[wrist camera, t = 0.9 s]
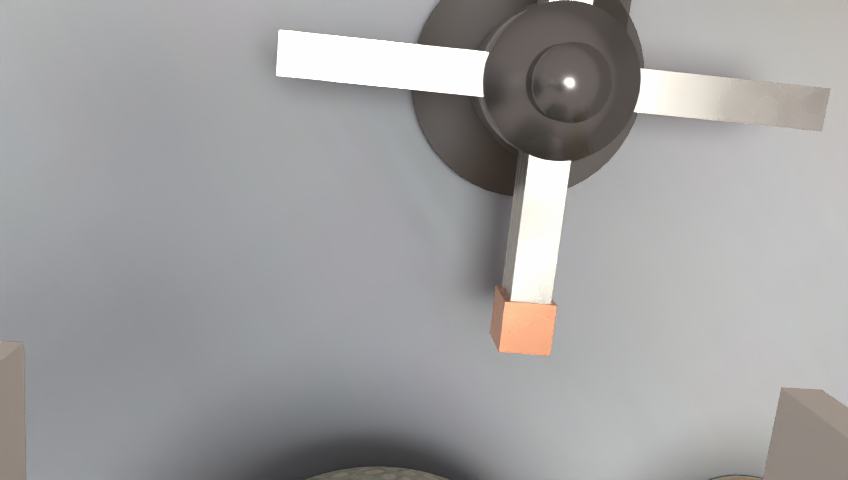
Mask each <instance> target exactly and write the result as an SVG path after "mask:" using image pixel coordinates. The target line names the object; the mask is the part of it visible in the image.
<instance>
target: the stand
mask: <svg viewBox="0 0 848 480" xmlns="http://www.w3.org/2000/svg"><path fill="white" fill-rule="evenodd" d="M536 2H538V0H441V2H440V3H439V4H438V5H437V7H436V8H435V9H434V11H433V12H432V14H431V15H430V17H429V19H428V20H427V22H426V24H425V26H424V28H423V31H422V33H421V35H420V37H419V40H418V45H427V46H437V47H446V48H455V49H465V50H474V51H476V49H477V47H478V46H479V44H480V42H481V41H482V39H483V38H484V37H485V36H486V34H487V33H488V32H489V31H490V30H491V29H492V28H493V27H495V26H496V25H497V24H499V23H500V22H501V21H503V20H504V19H505V18H507V17H508V16H509V15H511V14H512V13H514V12H516V11H517V10H519V9H521V8H523V7H525V6H528V5H531V4H533V3H536ZM593 5H594V6H596V7H598V8H600V9H602V10H604V11H606V12H607V13H608V14H610V15H611V16H613V17H614V18H615V19H616V20H617V21H618V22H619V23H620V24H621V25H622V26H623V28H624V29H625V30H626V31H627V33H628V35H629V36H630V38H631V39H632V42H633V44H634V46H635V48H636V51H637V54H638V58H639V63H640V68H642V69H644V61H643V55H642V49H641V44H640V41H639V37H638V34H637V31H636V29H635V27H634V24H633V22H632V20H631V18H630V16H629V12H630V5H631V0H593ZM412 93H413V101H414V106H415V110H416V114H417V117H418V120H419V122H420V125H421V128H422V130H423V132H424V134H425V136H426V138H427V139H428V141H429V143H430V144H431V146H432V147H433V149H434V150H435V151H436V153H437V154H438V155H439V156H440V158H441V159H442V160H443V161H444V162H445V163H446V164H447V165H448V166H449V167H450V168H451V169H452V170H454V171H455V172H456V173H457V174H459V175H460V176H461V177H463V178H464V179H466V180H468V181H469V182H471V183H472V184H475V185H477V186H479V187H481V188H483V189H486V190H489V191H492V192H496V193H499V194H504V195H510V196H513V194H514V186H515V178H516V170H517V162H518V155H516V154H514V153H513V152H511V151H510V150H508V149H506V148H505V147H504V146H502V145H501V144H500V143H499V142H498V141H497V140H496V139H495V138H494V137H493V136H492V135H491V134H490V132H489V131H488V130H487V128H486V127H485V126H484V125H483V124H482V122H481V121H480V119H479V118H478V116H477V114H476V112H475V110H474V108H473V105H472V102H471V98H470V95H461V94H451V93H441V92H431V91H422V90H412ZM637 113H638V112H633V114H632V116H631V118H630V120H629V122H628V123H627V125H626V126H625V128H624V129H623V130H622V131H621V133H620V134H619V135H618V136H617V137H616V138H615V139H614V140H613V141H612V142H611V143H610V144H608V145H607V146H605V147H604V148H603V149H601V150H599V151H597V152H596V153H594V154H592V155H589V156H587V157H585V158H583V159H580V160H577V161H574V162H571V164H570V171H569V178H568V185H567V188H569V187H572V186H574V185H576V184H578V183H579V182H581V181H583V180H585V179H587V178H588V177H589V176H591V175H592V174H594V173H595V172H597V171H598V170H599V169H600V168H601V167H602V166H603V165H604V164H606V163H607V162H608V161H609V160H610V159H611V157H612V156H613V155H614V154H615V153H616V152H617V150H618V149H619V148H620V146H621V145H622V143H623V142H624V140H625V139H626V137H627V136H628V134H629V132H630V130H631V128H632V126H633V124H634V121H635V119H636V116H637Z"/></svg>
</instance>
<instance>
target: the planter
mask: <svg viewBox="0 0 848 480" xmlns="http://www.w3.org/2000/svg"><path fill="white" fill-rule="evenodd" d="M305 480H449V479H447V478H444V477H441V476H438V475H434V474H431V473H427V472H423V471H418V470H413V469H406V468H398V467H357V468H349V469H343V470H337V471H332V472H328V473H324V474H320V475H317V476H314V477H311V478H308V479H305Z"/></svg>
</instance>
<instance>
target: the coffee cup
mask: <svg viewBox="0 0 848 480" xmlns="http://www.w3.org/2000/svg"><path fill="white" fill-rule="evenodd" d="M712 480H763V479H760V478H756V477H751V476H737V475H735V476H725V477H719V478H715V479H712Z"/></svg>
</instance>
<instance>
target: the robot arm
mask: <svg viewBox="0 0 848 480" xmlns="http://www.w3.org/2000/svg"><path fill="white" fill-rule="evenodd" d="M0 480H26V437H25V370H24V342H11V341H0ZM763 480H848V408H847V407H846V406H845V405H843V404H842V403H840V402H839V401H837V400H836V399H835V398H833V397H832V396H830V395H829V394H827V393H826V392H824V391H823V390H816V389H800V388H783V387H781V392H780V397H779V402H778V407H777V412H776V417H775V422H774V427H773V432H772V437H771V441H770V446H769V451H768V456H767V461H766V466H765V471H764V476H763Z"/></svg>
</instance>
